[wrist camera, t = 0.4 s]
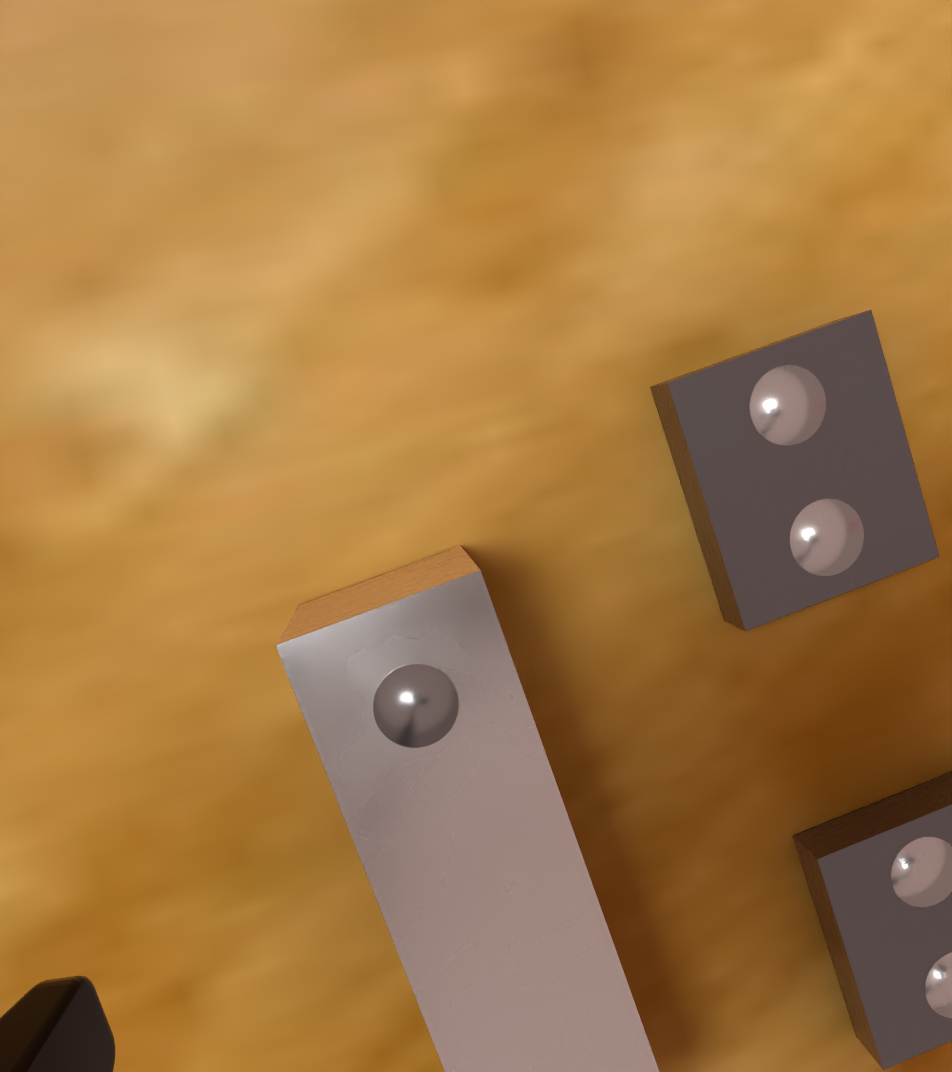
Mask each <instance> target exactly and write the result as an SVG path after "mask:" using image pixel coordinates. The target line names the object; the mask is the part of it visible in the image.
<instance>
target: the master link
mask: <svg viewBox="0 0 952 1072" xmlns="http://www.w3.org/2000/svg"><path fill="white" fill-rule="evenodd" d="M276 648H277V650H278V653H279V655H280V658H281V660H282V663H283V665H284V668H285V670H286V673H287V675H288V678H289V680H290V683H291V685H292V688H293V690H294V693H295V696H296V698H297V701H298V703H299V706H300V708H301V711H302V713H303V716H304V718H305V721H306V723H307V726H308V728H309V731H310V733H311V736H312V738H313V741H314V743H315V746H316V748H317V751H318V753H319V756H320V758H321V761H322V763H323V766H324V768H325V771H326V773H327V776H328V779H329V781H330V784H331V786H332V789H333V791H334V794H335V796H336V799H337V801H338V804H339V806H340V809H341V811H342V814H343V816H344V819H345V821H346V824H347V826H348V829H349V831H350V834H351V836H352V839H353V841H354V844H355V846H356V849H357V851H358V854H359V857H360V859H361V862H362V864H363V867H364V869H365V872H366V874H367V877H368V879H369V882H370V884H371V887H372V889H373V892H374V894H375V897H376V899H377V902H378V904H379V907H380V909H381V912H382V914H383V917H384V919H385V922H386V924H387V927H388V929H389V932H390V934H391V937H392V940H393V942H394V945H395V947H396V950H397V952H398V955H399V957H400V960H401V962H402V965H403V967H404V970H405V972H406V975H407V977H408V980H409V982H410V985H411V987H412V990H413V992H414V995H415V997H416V1000H417V1002H418V1005H419V1007H420V1010H421V1012H422V1015H423V1017H424V1020H425V1023H426V1025H427V1028H428V1030H429V1033H430V1035H431V1038H432V1040H433V1043H434V1045H435V1048H436V1050H437V1053H438V1055H439V1058H440V1060H441V1063H442V1065H443V1068H444V1070H445V1072H659V1069H658V1066H657V1064H656V1061H655V1058H654V1055H653V1052H652V1050H651V1047H650V1044H649V1041H648V1038H647V1036H646V1033H645V1030H644V1027H643V1024H642V1022H641V1019H640V1016H639V1013H638V1010H637V1008H636V1005H635V1002H634V999H633V996H632V994H631V991H630V988H629V985H628V982H627V980H626V977H625V974H624V971H623V968H622V966H621V963H620V960H619V957H618V954H617V952H616V949H615V946H614V943H613V940H612V937H611V935H610V932H609V929H608V926H607V923H606V921H605V918H604V915H603V912H602V909H601V907H600V904H599V901H598V898H597V895H596V893H595V890H594V887H593V884H592V881H591V879H590V876H589V873H588V870H587V867H586V865H585V862H584V859H583V856H582V853H581V851H580V848H579V845H578V842H577V839H576V837H575V834H574V831H573V828H572V825H571V823H570V820H569V817H568V814H567V811H566V809H565V806H564V803H563V800H562V797H561V795H560V792H559V789H558V786H557V783H556V781H555V778H554V775H553V772H552V769H551V767H550V764H549V761H548V758H547V755H546V752H545V750H544V747H543V744H542V741H541V738H540V736H539V733H538V730H537V727H536V724H535V722H534V719H533V716H532V713H531V710H530V708H529V705H528V702H527V699H526V696H525V694H524V691H523V688H522V685H521V682H520V680H519V677H518V674H517V671H516V668H515V666H514V663H513V660H512V657H511V654H510V652H509V649H508V646H507V643H506V640H505V638H504V635H503V632H502V629H501V626H500V624H499V621H498V618H497V615H496V612H495V610H494V607H493V604H492V601H491V598H490V596H489V593H488V590H487V587H486V584H485V581H484V579H483V576H482V573H481V570H480V569H479V568H478V566H477V565H476V564H475V563H474V562H473V560H472V559H471V558H470V557H469V555H468V554H467V553H466V552H465V551H464V549H463V548H462V547H461V546H459V547H456V548H453V549H451V550H448V551H445V552H443V553H440V554H437V555H434V556H432V557H429V558H426V559H423V560H421V561H418V562H415V563H413V564H410V565H407V566H404V567H402V568H399V569H396V570H393V571H391V572H388V573H385V574H382V575H380V576H377V577H374V578H372V579H369V580H366V581H363V582H361V583H358V584H355V585H352V586H350V587H347V588H344V589H342V590H339V591H336V592H333V593H331V594H328V595H325V596H322V597H320V598H317V599H314V600H312V601H309V602H306V603H303V604H301V605H298V607H297V609H296V610H295V612H294V614H293V616H292V618H291V619H290V621H289V623H288V625H287V626H286V628H285V630H284V632H283V633H282V635H281V637H280V639H279V641H278V642H277V644H276Z"/></svg>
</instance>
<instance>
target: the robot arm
mask: <svg viewBox="0 0 952 1072" xmlns="http://www.w3.org/2000/svg"><path fill="white" fill-rule="evenodd" d="M114 1063H115V1043H114V1037H113V1034H112V1031H111V1029H110V1026H109V1023H108V1021H107V1018H106V1016H105V1013H104V1011H103V1008H102V1005H101V1003H100V1000H99V998H98V995H97V993H96V990H95V987H94V985H93V984H92V982H91V981H90V980H89V979H88V978H87V977H85V976H73V977H66V978H58V979H51V980H46V981H43V982H40V983H39V984H37V985H36V986H34V987H33V988H32V989H31V990H29V991H28V992H27V993H26V994H25V995H24V996H23V997H22V998H21V999H20V1000H19V1001H18V1002H17V1003H16V1004H15V1005H14V1006H12V1007H11V1008H10V1009H9V1010H8V1011H7V1012H6V1013H5V1014H4V1015H3V1016H2V1017H1V1018H0V1072H113V1069H114Z"/></svg>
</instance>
